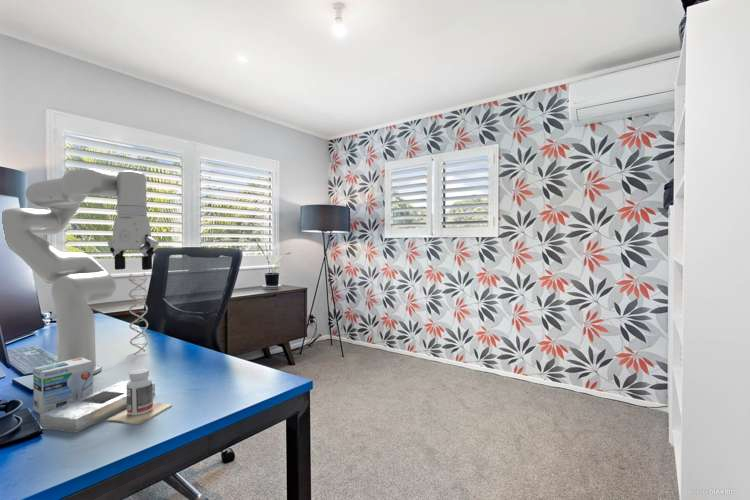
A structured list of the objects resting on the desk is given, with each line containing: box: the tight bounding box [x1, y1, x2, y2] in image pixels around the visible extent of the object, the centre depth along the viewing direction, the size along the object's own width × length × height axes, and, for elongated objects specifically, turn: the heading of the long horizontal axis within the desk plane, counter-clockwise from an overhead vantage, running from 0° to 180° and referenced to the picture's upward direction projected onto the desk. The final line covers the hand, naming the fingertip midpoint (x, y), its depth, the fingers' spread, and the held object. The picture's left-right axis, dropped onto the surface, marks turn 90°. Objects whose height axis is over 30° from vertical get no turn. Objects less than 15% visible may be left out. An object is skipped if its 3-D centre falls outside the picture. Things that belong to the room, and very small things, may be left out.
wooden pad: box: [106, 402, 173, 425], centre depth 93 cm, size 9×10×1 cm
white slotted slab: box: [39, 379, 156, 434], centre depth 95 cm, size 10×22×3 cm, turn 168°
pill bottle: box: [126, 368, 154, 416], centre depth 93 cm, size 5×5×10 cm
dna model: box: [127, 272, 149, 356], centre depth 144 cm, size 7×6×30 cm
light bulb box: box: [32, 357, 94, 415], centre depth 97 cm, size 11×7×11 cm, turn 148°
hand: (133, 269), depth 116 cm, fingers open, 9 cm apart
